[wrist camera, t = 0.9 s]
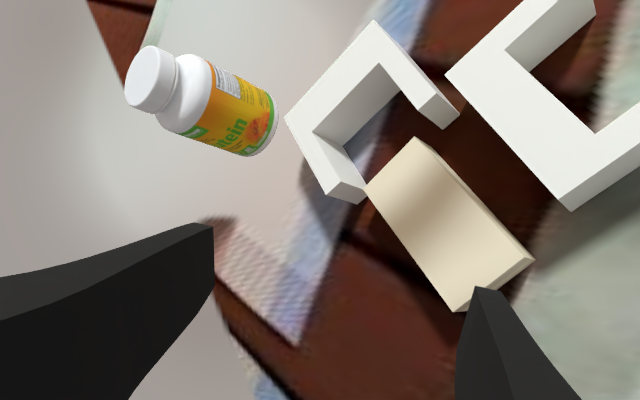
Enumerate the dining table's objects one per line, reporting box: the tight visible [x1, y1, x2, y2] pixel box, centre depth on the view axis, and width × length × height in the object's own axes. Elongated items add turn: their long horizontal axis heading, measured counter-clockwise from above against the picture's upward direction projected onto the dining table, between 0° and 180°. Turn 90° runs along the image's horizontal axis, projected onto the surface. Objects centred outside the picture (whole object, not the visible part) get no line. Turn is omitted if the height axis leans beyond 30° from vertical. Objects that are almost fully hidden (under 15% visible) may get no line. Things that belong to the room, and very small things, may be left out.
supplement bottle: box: [125, 46, 278, 157], centre depth 30 cm, size 5×5×10 cm
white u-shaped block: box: [445, 0, 640, 212], centre depth 18 cm, size 6×8×3 cm
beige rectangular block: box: [363, 136, 535, 312], centre depth 21 cm, size 8×4×2 cm, turn 35°
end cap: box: [284, 20, 460, 204], centre depth 25 cm, size 6×8×3 cm
